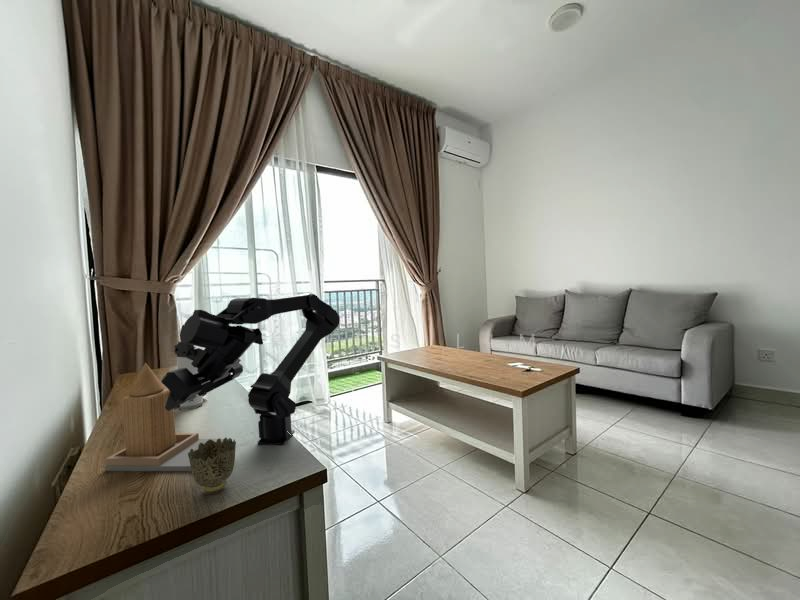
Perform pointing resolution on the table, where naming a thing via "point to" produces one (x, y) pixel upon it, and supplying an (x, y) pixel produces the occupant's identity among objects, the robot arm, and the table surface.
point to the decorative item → (147, 417)
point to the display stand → (159, 457)
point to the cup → (213, 464)
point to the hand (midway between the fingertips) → (183, 401)
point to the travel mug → (186, 363)
